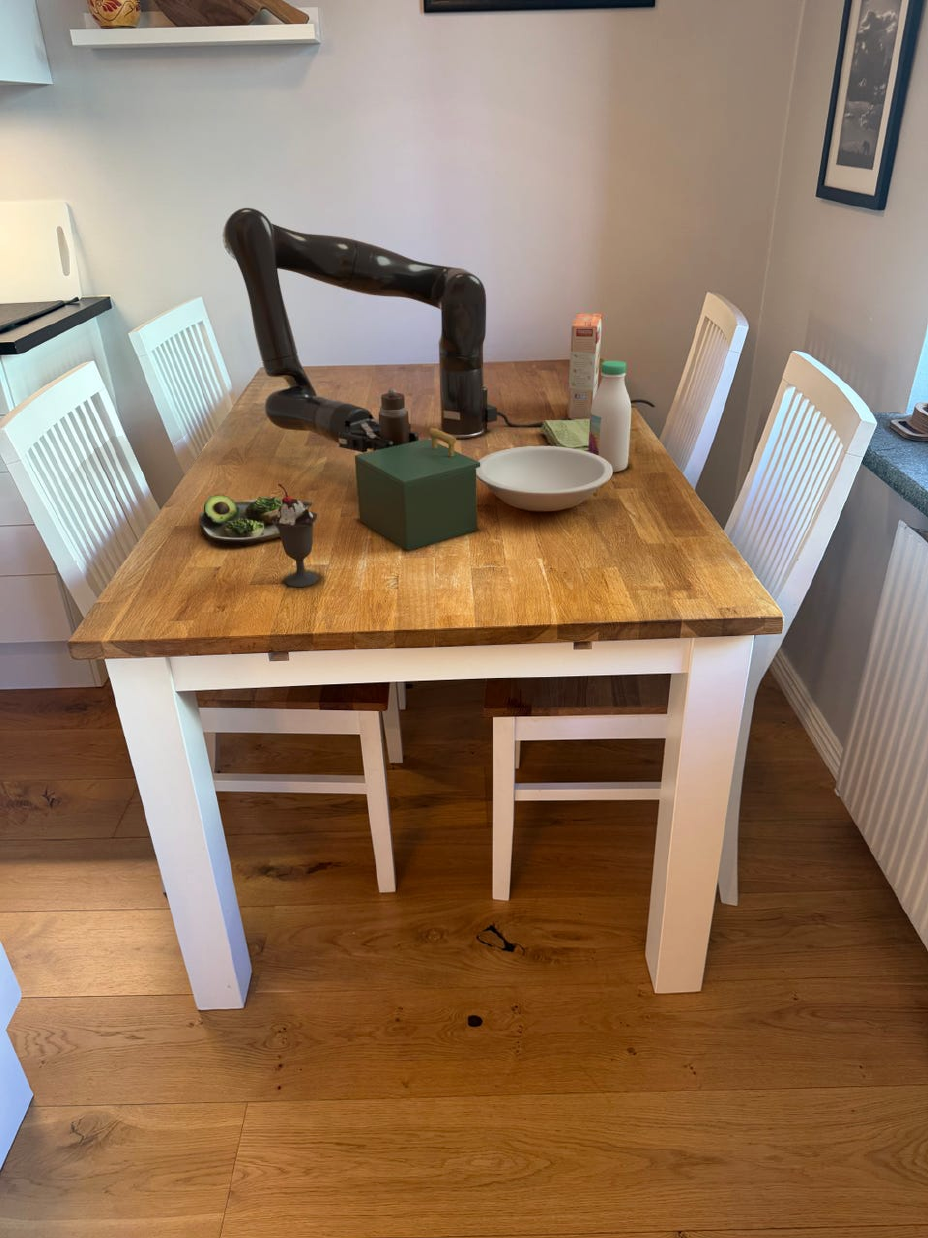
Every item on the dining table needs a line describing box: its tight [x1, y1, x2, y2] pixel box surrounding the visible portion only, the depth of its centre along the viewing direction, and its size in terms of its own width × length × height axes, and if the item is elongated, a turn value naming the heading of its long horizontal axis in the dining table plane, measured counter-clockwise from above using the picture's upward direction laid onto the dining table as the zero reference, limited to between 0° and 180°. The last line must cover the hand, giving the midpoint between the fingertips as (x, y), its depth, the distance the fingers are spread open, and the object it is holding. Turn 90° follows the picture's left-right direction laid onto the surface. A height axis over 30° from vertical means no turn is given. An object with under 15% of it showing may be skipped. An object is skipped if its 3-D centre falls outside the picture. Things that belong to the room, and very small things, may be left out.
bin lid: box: [354, 427, 480, 487], centre depth 149 cm, size 14×16×4 cm
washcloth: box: [540, 419, 590, 452], centre depth 191 cm, size 13×18×3 cm
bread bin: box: [354, 459, 478, 552], centre depth 153 cm, size 14×16×11 cm
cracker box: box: [566, 312, 603, 420], centre depth 206 cm, size 14×6×21 cm, turn 168°
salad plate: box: [198, 494, 313, 548], centre depth 156 cm, size 19×18×5 cm
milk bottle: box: [588, 360, 632, 473], centre depth 174 cm, size 8×8×20 cm
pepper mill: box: [378, 387, 410, 446], centre depth 162 cm, size 5×5×18 cm
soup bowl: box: [476, 445, 614, 512], centre depth 162 cm, size 24×24×7 cm
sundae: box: [271, 483, 319, 588], centre depth 134 cm, size 7×7×15 cm
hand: (404, 443), depth 161 cm, fingers closed on pepper mill, 5 cm apart
